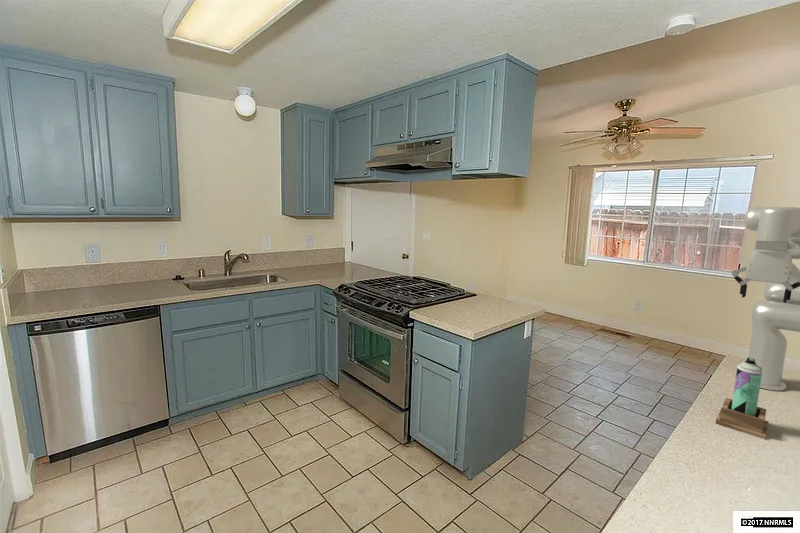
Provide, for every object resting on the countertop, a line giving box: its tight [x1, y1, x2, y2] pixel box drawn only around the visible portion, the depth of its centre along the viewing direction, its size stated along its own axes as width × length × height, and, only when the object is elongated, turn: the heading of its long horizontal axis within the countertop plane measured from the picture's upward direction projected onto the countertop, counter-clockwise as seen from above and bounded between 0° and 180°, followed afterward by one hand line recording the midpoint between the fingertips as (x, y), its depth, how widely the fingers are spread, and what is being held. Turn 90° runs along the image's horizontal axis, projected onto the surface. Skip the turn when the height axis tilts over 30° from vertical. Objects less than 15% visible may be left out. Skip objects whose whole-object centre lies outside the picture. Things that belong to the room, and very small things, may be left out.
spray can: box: [731, 357, 762, 417], centre depth 113 cm, size 6×6×20 cm
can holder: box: [715, 397, 769, 440], centre depth 114 cm, size 11×11×5 cm
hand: (763, 299), depth 121 cm, fingers open, 9 cm apart
